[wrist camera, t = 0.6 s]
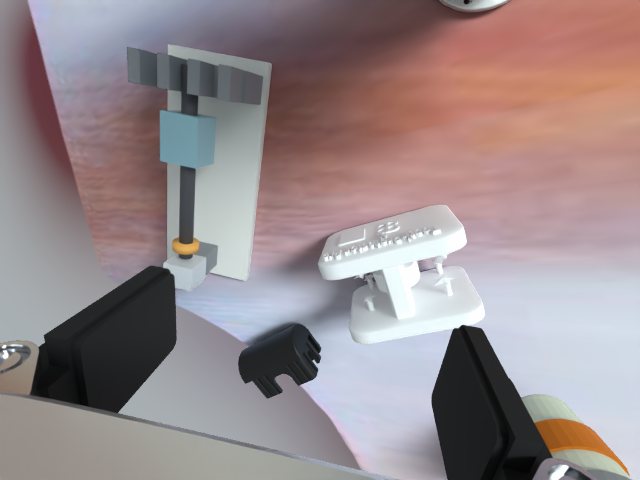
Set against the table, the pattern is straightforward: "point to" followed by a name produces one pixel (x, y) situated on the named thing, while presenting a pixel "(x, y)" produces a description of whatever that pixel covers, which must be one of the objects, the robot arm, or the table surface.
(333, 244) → the cable organizer
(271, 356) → the end cap
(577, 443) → the reusable coffee cup
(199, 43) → the table surface
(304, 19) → the table surface
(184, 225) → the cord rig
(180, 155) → the sleeve
